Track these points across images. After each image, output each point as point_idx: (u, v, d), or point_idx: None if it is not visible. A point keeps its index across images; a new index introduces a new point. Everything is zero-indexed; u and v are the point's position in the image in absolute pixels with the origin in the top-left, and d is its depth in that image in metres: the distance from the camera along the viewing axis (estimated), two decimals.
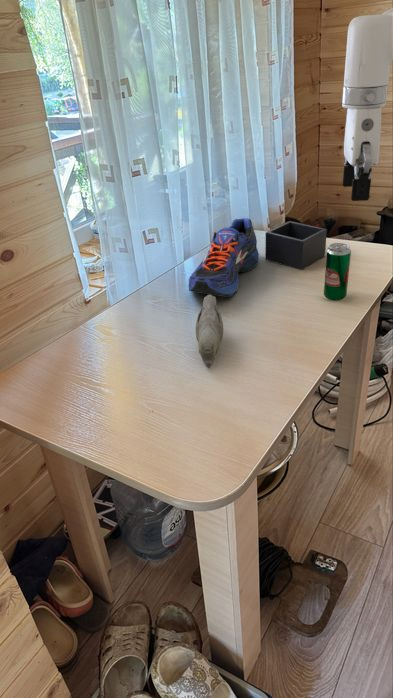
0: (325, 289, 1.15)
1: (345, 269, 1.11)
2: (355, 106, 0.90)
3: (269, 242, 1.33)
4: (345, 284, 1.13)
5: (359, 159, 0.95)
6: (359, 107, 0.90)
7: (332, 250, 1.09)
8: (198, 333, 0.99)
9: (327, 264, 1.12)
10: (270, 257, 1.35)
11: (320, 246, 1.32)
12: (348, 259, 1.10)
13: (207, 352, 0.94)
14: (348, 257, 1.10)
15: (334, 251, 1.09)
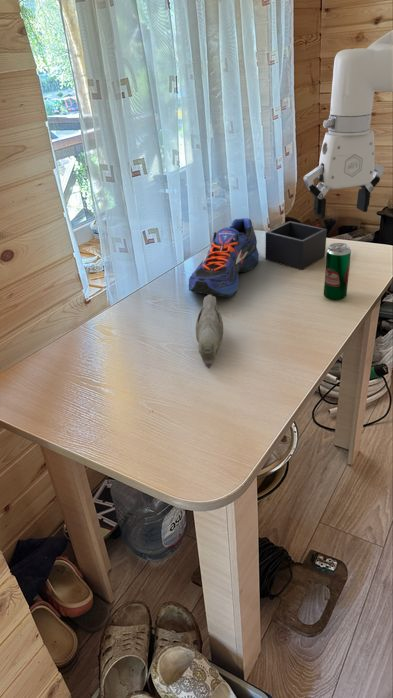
0: (325, 289, 1.15)
1: (345, 269, 1.11)
2: None
3: (269, 242, 1.33)
4: (345, 284, 1.13)
5: None
6: None
7: (332, 250, 1.09)
8: (198, 333, 0.99)
9: (327, 264, 1.12)
10: (270, 257, 1.35)
11: (320, 246, 1.32)
12: (348, 259, 1.10)
13: (207, 352, 0.94)
14: (348, 257, 1.10)
15: (334, 251, 1.09)
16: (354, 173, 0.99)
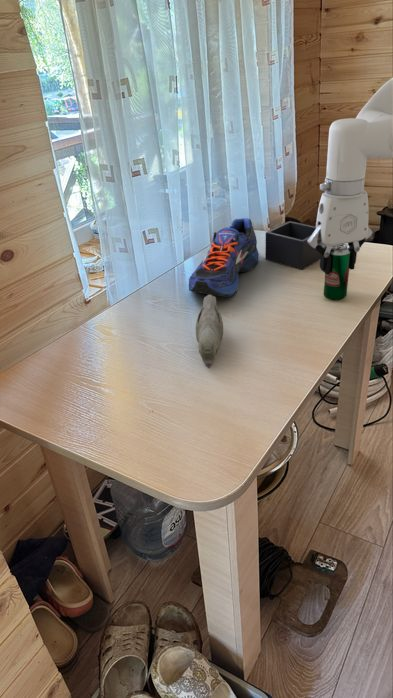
0: (325, 289, 1.15)
1: (345, 269, 1.11)
2: None
3: (269, 242, 1.33)
4: (345, 284, 1.13)
5: None
6: (325, 192, 1.04)
7: (332, 250, 1.09)
8: (198, 333, 0.99)
9: None
10: (270, 257, 1.35)
11: None
12: (348, 259, 1.10)
13: (207, 352, 0.94)
14: (348, 257, 1.10)
15: (334, 251, 1.09)
16: (349, 231, 1.06)
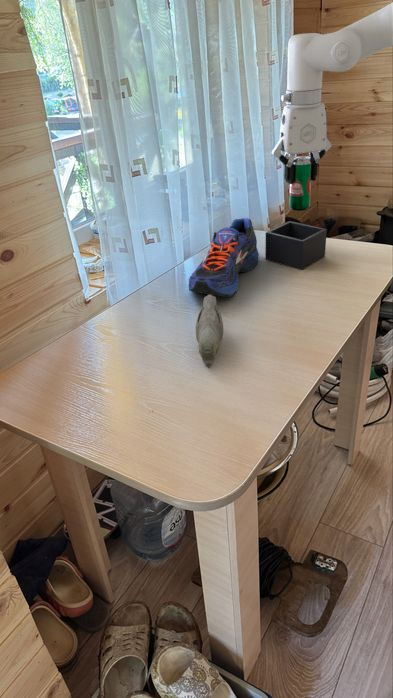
0: (290, 200, 1.26)
1: (307, 179, 1.22)
2: None
3: (269, 242, 1.33)
4: (308, 194, 1.24)
5: None
6: None
7: (295, 161, 1.21)
8: (198, 333, 0.99)
9: None
10: (270, 257, 1.35)
11: (320, 246, 1.32)
12: (309, 169, 1.21)
13: (207, 352, 0.94)
14: (309, 167, 1.21)
15: (296, 162, 1.20)
16: (309, 140, 1.17)
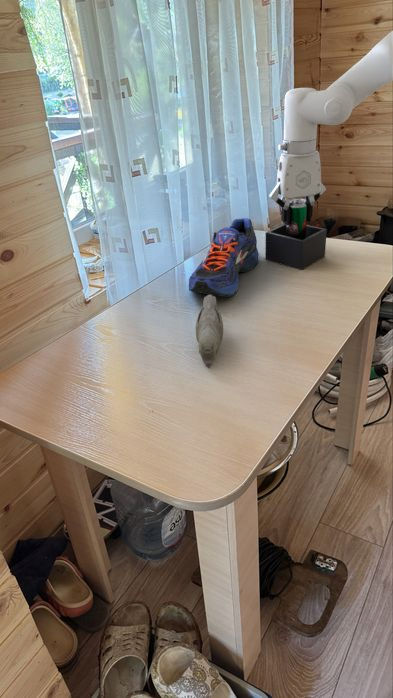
0: None
1: (302, 220, 1.29)
2: None
3: (269, 242, 1.33)
4: (303, 234, 1.31)
5: None
6: (283, 152, 1.22)
7: (291, 203, 1.27)
8: (198, 333, 0.99)
9: None
10: (270, 257, 1.35)
11: (320, 246, 1.32)
12: (305, 211, 1.28)
13: (207, 352, 0.94)
14: (305, 210, 1.28)
15: (292, 204, 1.27)
16: (304, 186, 1.24)
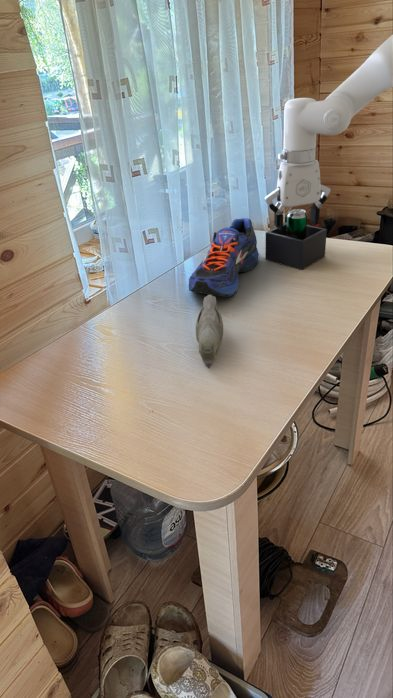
0: None
1: (302, 231, 1.30)
2: None
3: (269, 242, 1.33)
4: None
5: None
6: (283, 161, 1.24)
7: (291, 214, 1.29)
8: (198, 333, 0.99)
9: (287, 227, 1.31)
10: (270, 257, 1.35)
11: (320, 246, 1.32)
12: (305, 222, 1.29)
13: (207, 352, 0.94)
14: (304, 220, 1.29)
15: (292, 215, 1.29)
16: (304, 194, 1.25)
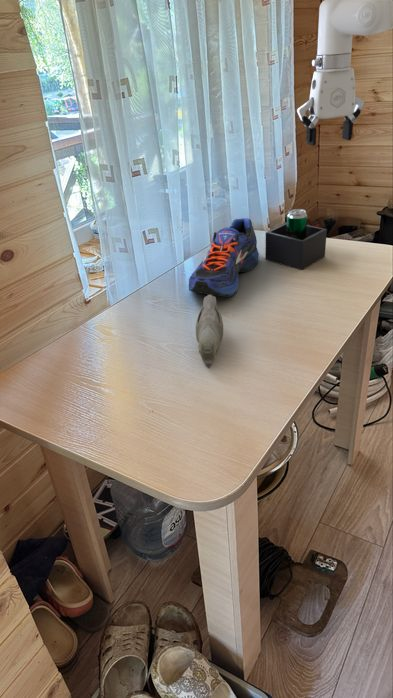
0: None
1: (302, 231, 1.30)
2: None
3: (269, 242, 1.33)
4: None
5: None
6: None
7: (291, 214, 1.29)
8: (198, 333, 0.99)
9: (287, 227, 1.31)
10: (270, 257, 1.35)
11: (320, 246, 1.32)
12: (305, 222, 1.29)
13: (207, 352, 0.94)
14: (304, 220, 1.29)
15: (292, 215, 1.29)
16: (339, 104, 1.20)
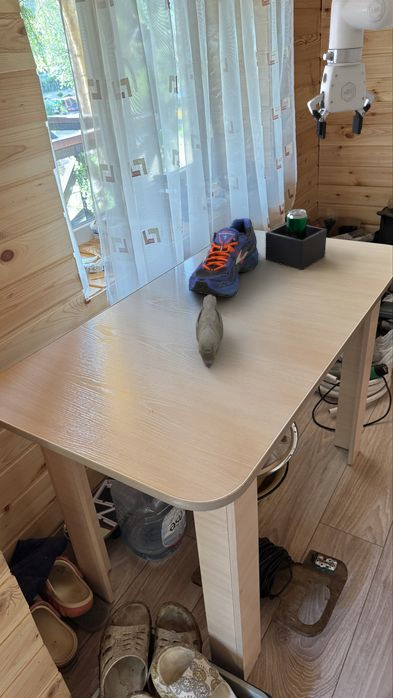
0: None
1: (302, 231, 1.30)
2: None
3: (269, 242, 1.33)
4: None
5: None
6: None
7: (291, 214, 1.29)
8: (198, 333, 0.99)
9: (287, 227, 1.31)
10: (270, 257, 1.35)
11: (320, 246, 1.32)
12: (305, 222, 1.29)
13: (207, 352, 0.94)
14: (304, 220, 1.29)
15: (292, 215, 1.29)
16: (349, 98, 1.21)
